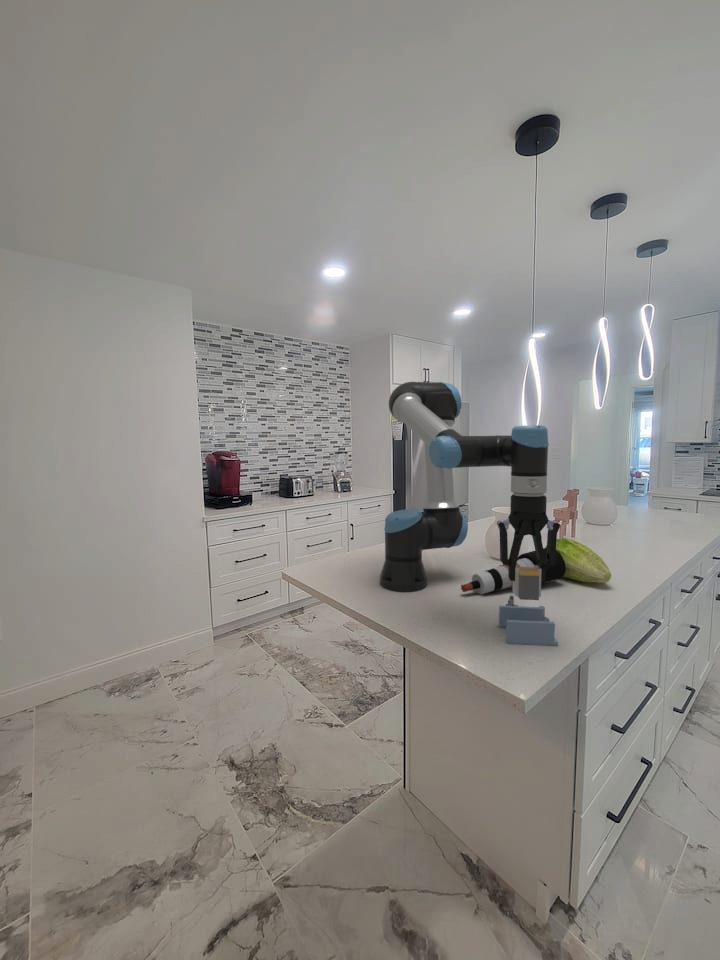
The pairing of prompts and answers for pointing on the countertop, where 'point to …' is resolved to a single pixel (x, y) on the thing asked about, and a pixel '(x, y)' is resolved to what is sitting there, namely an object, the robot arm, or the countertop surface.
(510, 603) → the clip
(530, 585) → the block
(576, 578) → the lettuce
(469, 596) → the countertop surface
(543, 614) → the clip
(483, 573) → the cable
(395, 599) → the countertop surface
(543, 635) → the holder
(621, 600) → the countertop surface
